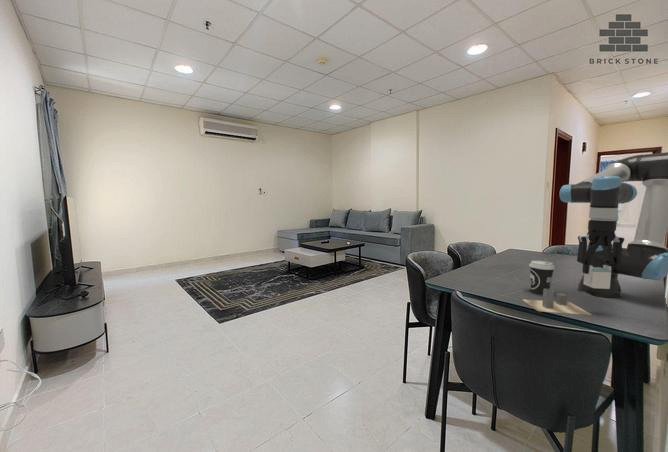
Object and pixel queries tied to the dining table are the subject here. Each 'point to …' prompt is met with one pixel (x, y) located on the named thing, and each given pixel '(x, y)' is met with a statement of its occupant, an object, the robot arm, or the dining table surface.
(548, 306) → the post tall
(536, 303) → the board
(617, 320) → the dining table surface
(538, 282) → the coffee cup
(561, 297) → the post short
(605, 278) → the white and green block
